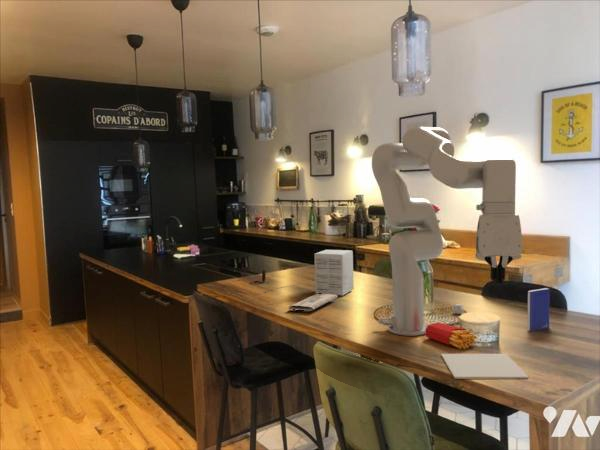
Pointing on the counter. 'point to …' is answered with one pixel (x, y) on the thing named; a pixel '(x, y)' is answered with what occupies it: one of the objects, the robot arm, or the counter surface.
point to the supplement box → (334, 272)
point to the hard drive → (538, 309)
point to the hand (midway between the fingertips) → (497, 282)
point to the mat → (483, 366)
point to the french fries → (450, 335)
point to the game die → (457, 309)
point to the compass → (262, 278)
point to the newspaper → (313, 302)
